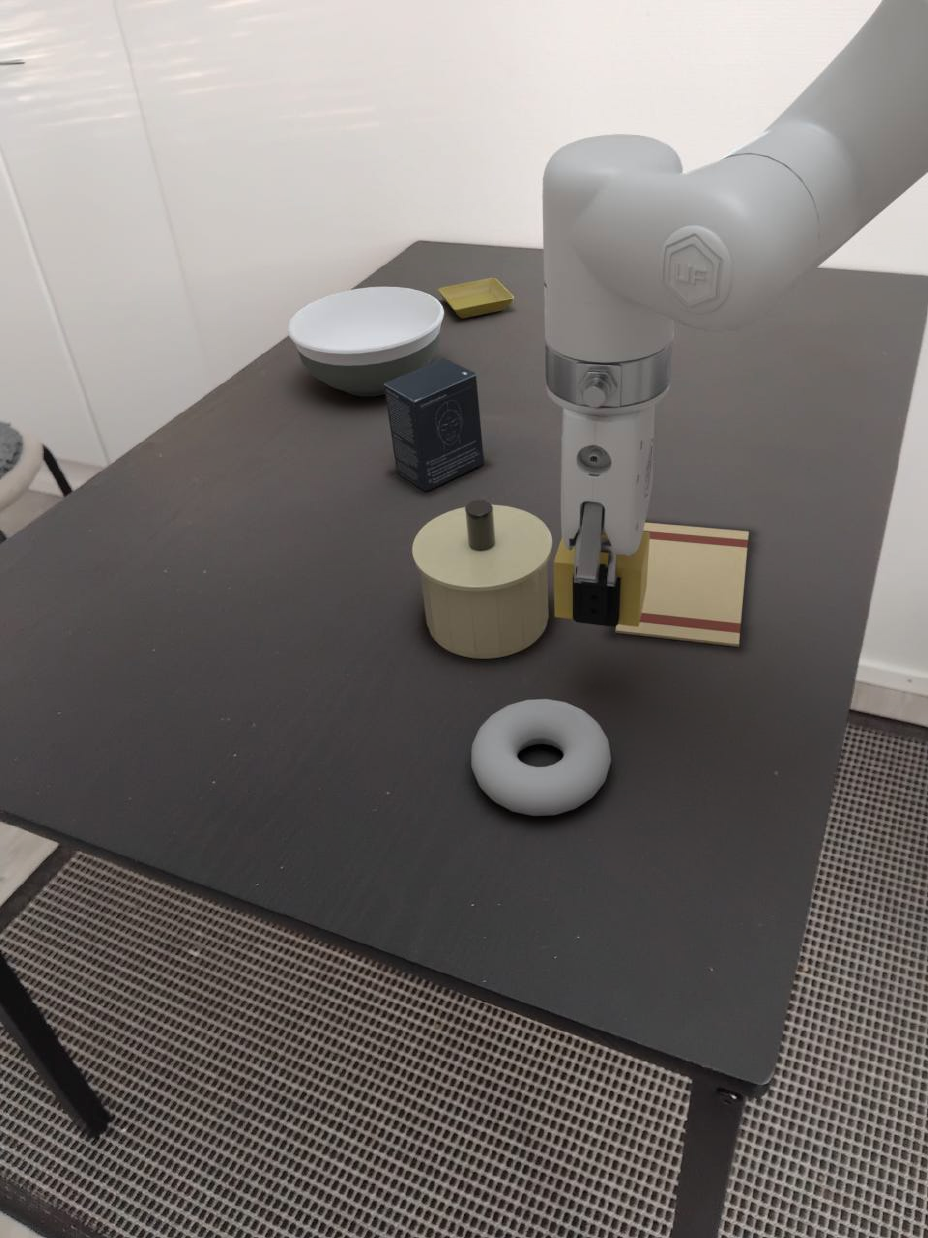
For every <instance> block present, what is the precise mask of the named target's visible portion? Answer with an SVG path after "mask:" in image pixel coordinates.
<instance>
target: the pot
mask: <svg viewBox="0 0 928 1238" xmlns="http://www.w3.org/2000/svg"><path fill="white" fill-rule="evenodd" d="M419 576H420V583H421V590H422V597H423V605H424V613H425V620H426V626H427V627H428V631H429V633H430V635H431V638H433V640H434V641H435V642H436V644H438V646H440V647H442V648H443V649H445V650H446V651H448V652H449V653H452V654H454V655H457V656H461V657H464V658H470V659H481V660H482V659H483V660H485V659H486V660H487V659H488V660H489V659H497V658H503V657H508V656H510V655H514V654H516V653H519V652H521V651H524V650H525V649H527V648H528V647H530V646H532V645H533V644H535V643H536V642H537V640H539V639H540V637H541V636H542V635H543V634H544V632H545V631H546V628H547V625H548V621H549V618H550V617H549V615H550V613H549V612H550V611H549V581H548V580H549V579H548V578H549V577H548V562H547V563H546V565H545V566H544V567H543V568H542V569H541V570H540V571H539V572H538V573H536V574H535V575H534V576H532V577H531V578H529V579H527V580H525V581H523V582H521V583H519V584H516V585H514V586H511V587H507V588H503V589H499V590H493V591H484V592H470V591H460V590H454V589H450V588H446V587H443V586H441V585H438V584H436V583H434V582H432V581H430V580H429V579H427V578H426V577H425V576H424V575H423V574H421V572H420V571H419Z"/></svg>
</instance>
